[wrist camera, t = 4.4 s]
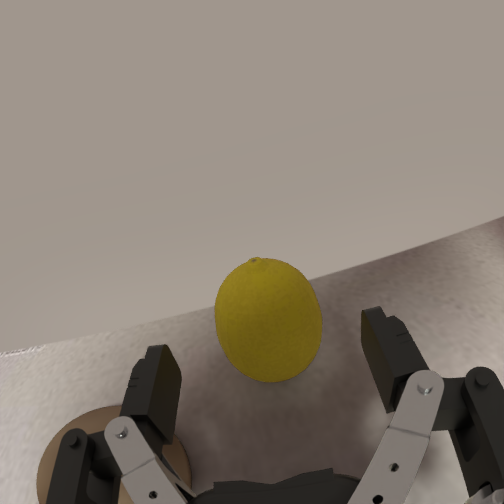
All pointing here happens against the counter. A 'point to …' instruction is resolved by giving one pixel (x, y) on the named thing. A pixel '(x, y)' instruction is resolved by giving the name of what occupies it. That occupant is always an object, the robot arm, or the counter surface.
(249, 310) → the lemon
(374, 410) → the counter surface
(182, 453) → the walnut board
